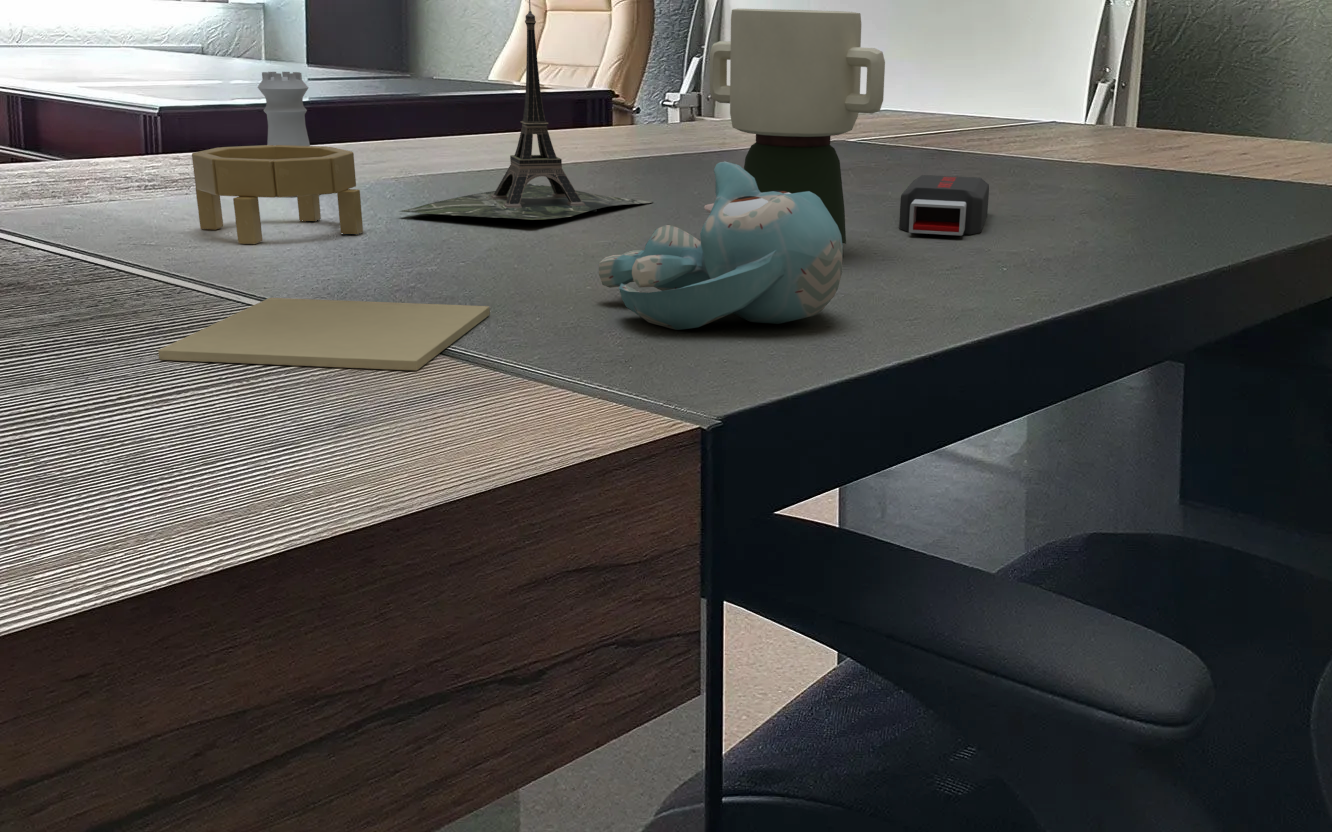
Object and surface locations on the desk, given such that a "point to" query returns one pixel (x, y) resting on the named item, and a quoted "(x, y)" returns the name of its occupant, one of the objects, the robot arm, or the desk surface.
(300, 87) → the rook chess piece
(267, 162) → the can holder
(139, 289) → the desk surface
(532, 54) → the eiffel tower figurine
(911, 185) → the usb drive
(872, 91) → the character mug
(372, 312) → the mat
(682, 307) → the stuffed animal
